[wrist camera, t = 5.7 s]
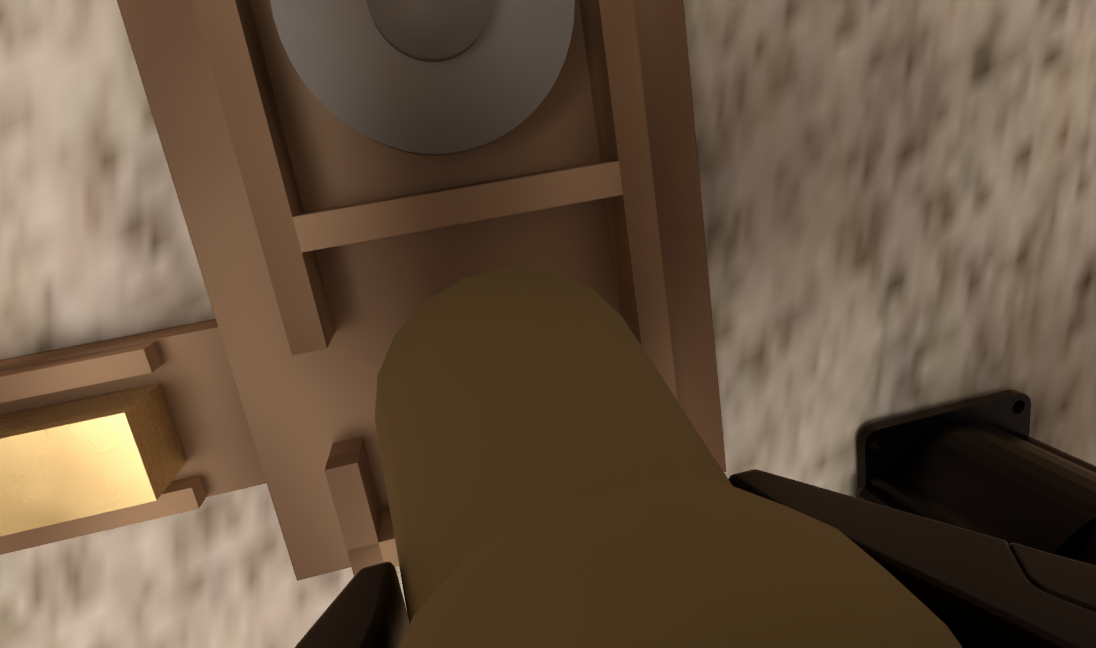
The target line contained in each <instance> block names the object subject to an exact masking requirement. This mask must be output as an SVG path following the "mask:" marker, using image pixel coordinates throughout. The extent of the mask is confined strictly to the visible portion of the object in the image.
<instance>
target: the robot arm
mask: <svg viewBox="0 0 1096 648" xmlns="http://www.w3.org/2000/svg"><path fill="white" fill-rule="evenodd" d="M1030 409H1031V402H1030V398H1029V397H1028V396H1027V395H1025V394H1023V393H1021V392H1018V391H1015V390H1007V391H1003V392H999V393H995V394H991V395H987V396H983V397H979V398H975V399H971V400H967V401H963V402H959V403H955V404H951V405H947V406H944V407H940V408H936V409H932V410H928V411H924V412H920V413H916V414H912V415H908V416H904V417H900V418H896V419H892V420H888V421H884V422H880V423H876V424H872V425H869V426H867V427H865V428H864V429H862V430H861V431H860V433H859V435H858V439H857V457H858V496H857V497H858V498H855V497H851V496H848V495H844V494H841V493H837V492H834V491H830V490H827V489H823V488H820V487H816V486H813V485H809V484H806V483H802V482H799V481H795V480H792V479H788V478H785V477H781V476H778V475H774V474H771V473H767V472H764V471H760V470H749V471H745V472H741V473H737V474H734V475H731V476H730V478H729V479H728V480H729V481H730V483H731V484H732V486H734V487H736V488H739V489H742V490H744V491H747V492H750V493H752V494H755V495H758V496H760V497H763V498H766V499H768V500H771V501H774V502H777V503H779V504H782V505H785V506H787V507H789V508H792V509H794V510H796V511H799V512H801V513H803V514H805V515H808V516H810V517H812V518H814V519H817V520H819V521H821V522H823V523H826V524H828V525H830V526H832V527H835V528H837V529H838V530H839V531H841V532H842V533H843V534H844V535H845V536H847V537H848V538H849V539H850V540H851V541H853V542H854V543H855V544H856V545H857V546H859V547H860V548H861V549H862V550H863V551H865V552H866V553H867V554H868V555H869V556H871V557H872V558H873V559H874V560H875V561H876V562H878V563H879V564H880V565H881V566H882V567H884V568H885V569H886V570H887V571H888V572H889V573H891V574H892V575H893V576H894V577H895V578H896V579H897V580H898V581H899V582H900V583H901V584H902V585H904V586H905V587H906V588H907V589H908V590H909V591H910V592H911V593H912V594H913V595H914V596H915V597H917V598H918V599H919V600H920V601H921V602H922V603H923V604H924V605H925V606H926V607H927V608H929V609H930V610H931V611H932V612H933V613H934V614H935V615H936V616H937V617H938V618H939V619H940V620H942V621H943V622H944V623H945V624H946V625H947V626H948V628H949V629H950V631H951V632H952V633H953V635H954V636H955V638H956V639H957V641H958V642H959V643H960V645H961V646H962V648H1096V466H1094V465H1092V464H1089V463H1087V462H1085V461H1083V460H1080V459H1078V458H1076V457H1074V456H1071V455H1069V454H1067V453H1065V452H1062V451H1060V450H1058V449H1056V448H1053V447H1051V446H1049V445H1047V444H1044V443H1042V442H1040V441H1038V440H1035V439H1033V438H1031V437H1029V429H1030ZM875 437H877V438H876V441H875V442H874V443H873V444H872V441H873V439H874V438H875ZM408 627H409V621H408V615H407V611H406V607H405V603H404V599H403V596H402V592H401V588H400V584H399V580H398V576H397V573H396V569H395V567H394V565H393V564H392V563H391V562H384V563H380V564H376V565H372V566H368V567H364V568H362V569H361V570H360V571H359V572H358V573H357V574H356V575H355V576H354V577H353V579H352V580H351V581H350V582H349V583H348V585H347V586H346V587H345V588H344V589H343V591H342V592H341V593H340V594H339V595H338V596H337V598H336V599H335V600H334V601H333V602H332V604H331V605H330V606H329V607H328V608H327V610H326V611H325V612H324V613H323V614H322V616H321V617H320V618H319V619H318V620H317V621H316V623H315V624H314V625H313V626H312V627H311V629H310V630H309V631H308V632H307V633H306V635H305V636H304V637H303V638H302V639H301V641H300V642H299V643H298V644H297V645H296V647H295V648H399V646H400V644H401V642H402V640H403V637H404V635H405V633H406V631H407V629H408Z"/></svg>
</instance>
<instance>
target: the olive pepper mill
mask: <svg viewBox="0 0 1096 648" xmlns="http://www.w3.org/2000/svg"><path fill="white" fill-rule="evenodd" d="M375 423H376V429H377V435H378V441H379V447H380V453H381V459H382V465H383V471H384V477H385V483H386V489H387V495H388V501H389V507H390V513H391V519H392V525H393V531H394V537H395V542H396V548H397V554H398V560H399V566H400V572H401V578H402V584H403V590H404V596H405V602H406V608H407V614H408V620H409V627H408V629H407V631H406V633H405V635H404V637H403V640H402V642H401V644H400V646H399V648H962V646H961V645H960V643H959V642H958V641H957V639H956V638H955V636H954V635H953V633H952V632H951V631H950V629H949V628H948V626H947V625H946V624H945V623H944V622H943V621H942V620H940V619H939V618H938V617H937V616H936V615H935V614H934V613H933V612H932V611H931V610H930V609H929V608H927V607H926V606H925V605H924V604H923V603H922V602H921V601H920V600H919V599H918V598H917V597H915V596H914V595H913V594H912V593H911V592H910V591H909V590H908V589H907V588H906V587H905V586H904V585H902V584H901V583H900V582H899V581H898V580H897V579H896V578H895V577H894V576H893V575H892V574H891V573H889V572H888V571H887V570H886V569H885V568H884V567H882V566H881V565H880V564H879V563H878V562H876V561H875V560H874V559H873V558H872V557H871V556H869V555H868V554H867V553H866V552H865V551H863V550H862V549H861V548H860V547H859V546H857V545H856V544H855V543H854V542H853V541H851V540H850V539H849V538H848V537H847V536H845V535H844V534H843V533H842V532H841V531H839V530H838V529H837V528H835V527H832V526H830V525H828V524H826V523H823V522H821V521H819V520H817V519H814V518H812V517H810V516H808V515H805V514H803V513H801V512H799V511H796V510H794V509H792V508H789V507H787V506H785V505H782V504H779V503H777V502H774V501H771V500H768V499H766V498H763V497H760V496H758V495H755V494H752V493H750V492H747V491H744V490H742V489H739V488H736V487H734V486H732V484H731V483H730V481H729V480H728V478H727V477H726V475H725V474H724V472H723V471H722V469H721V467H720V466H719V464H718V463H717V461H716V460H715V458H714V457H713V455H712V454H711V452H710V451H709V449H708V447H707V446H706V444H705V443H704V441H703V440H702V438H701V437H700V435H699V434H698V432H697V431H696V429H695V427H694V426H693V424H692V423H691V421H690V420H689V418H688V417H687V415H686V414H685V412H684V411H683V409H682V408H681V406H680V404H679V403H678V401H677V400H676V398H675V397H674V395H673V394H672V392H671V391H670V389H669V388H668V386H667V384H666V383H665V381H664V380H663V378H662V377H661V375H660V374H659V372H658V371H657V369H656V368H655V366H654V364H653V363H652V361H651V360H650V358H649V357H648V355H647V354H646V352H645V351H644V349H643V348H642V346H641V345H640V343H639V341H638V340H637V338H636V337H635V335H634V334H633V332H632V331H631V329H630V328H629V326H628V325H627V323H626V321H625V320H624V318H623V317H622V316H621V315H620V314H619V313H618V312H617V311H616V310H615V309H613V308H612V307H611V306H610V305H609V304H608V303H607V302H606V301H605V300H604V299H603V298H602V297H601V296H599V295H598V294H597V293H596V292H595V291H594V290H593V289H591V288H589V287H587V286H585V285H582V284H580V283H578V282H575V281H573V280H571V279H569V278H566V277H564V276H562V275H560V274H557V273H555V272H550V271H540V270H529V269H519V268H505V269H501V270H496V271H492V272H487V273H483V274H478V275H474V276H469V277H465V278H463V279H461V280H460V281H458V282H456V283H455V284H453V285H451V286H449V287H448V288H446V289H444V290H443V291H441V292H439V293H437V294H436V295H434V296H432V297H431V298H429V299H427V300H426V301H424V303H423V304H422V305H421V306H420V307H419V308H418V309H417V310H416V312H415V313H414V314H413V315H412V316H411V317H410V318H409V319H408V320H407V322H406V323H405V324H404V325H403V326H402V327H401V328H400V329H399V331H398V332H397V333H396V334H395V335H394V338H393V340H392V343H391V345H390V347H389V350H388V352H387V354H386V357H385V359H384V361H383V364H382V366H381V368H380V371H379V373H378V375H377V390H376V405H375Z"/></svg>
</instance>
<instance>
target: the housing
mask: <svg viewBox="0 0 1096 648" xmlns="http://www.w3.org/2000/svg"><path fill="white" fill-rule="evenodd" d="M117 2H118V5H119V9H120V12H121V15H122V18H123V22H124V25H125V28H126V31H127V34H128V38H129V41H130V44H131V47H132V50H133V54H134V57H135V60H136V63H137V67H138V70H139V73H140V76H141V79H142V83H143V86H144V89H145V92H146V96H147V99H148V102H149V105H150V108H151V112H152V115H153V118H154V121H155V125H156V128H157V131H158V134H159V137H160V141H161V144H162V147H163V150H164V154H165V157H166V160H167V163H168V166H169V170H170V173H171V176H172V179H173V182H174V186H175V189H176V192H177V195H178V199H179V202H180V205H181V208H182V211H183V215H184V218H185V221H186V224H187V228H188V231H189V234H190V237H191V240H192V244H193V247H194V250H195V253H196V257H197V260H198V263H199V266H200V269H201V273H202V276H203V279H204V282H205V286H206V289H207V292H208V295H209V298H210V302H211V305H212V308H213V311H214V315H215V318H216V319H215V320H209V321H204V322H199V323H194V324H189V325H183V326H178V327H173V328H168V329H162V330H157V331H152V332H147V333H141V334H136V335H131V336H126V337H121V338H115V339H110V340H105V341H100V342H94V343H89V344H84V345H79V346H73V347H68V348H63V349H58V350H53V351H47V352H42V353H37V354H32V355H26V356H21V357H16V358H11V359H5V360H0V415H5V414H10V413H15V412H20V411H25V410H30V409H35V408H40V407H45V406H50V405H55V404H60V403H64V402H69V401H74V400H79V399H84V398H89V397H94V396H99V395H104V394H109V393H114V392H119V391H124V390H129V389H133V388H138V387H143V386H148V385H153V384H158V383H160V386H161V389H162V392H163V395H164V398H165V400H166V403H167V406H168V409H169V412H170V415H171V418H172V421H173V424H174V427H175V429H176V432H177V435H178V438H179V441H180V444H181V447H182V450H183V453H184V456H185V458H186V461H187V462H186V464H185V465H184V466H183V467H182V469H181V470H180V471H179V473H178V474H177V475H176V476H175V478H174V479H173V480H172V482H171V483H170V484H169V485H168V487H167V488H166V489H165V491H164V492H163V493H162V494H161V496H160V497H159V498H158V500H157V501H153V502H149V503H144V504H140V505H136V506H131V507H127V508H123V509H118V510H114V511H109V512H105V513H101V514H96V515H92V516H88V517H83V518H79V519H74V520H70V521H66V522H61V523H57V524H53V525H48V526H44V527H39V528H35V529H31V530H26V531H22V532H18V533H13V534H9V535H4V536H0V555H1V554H5V553H9V552H14V551H18V550H22V549H27V548H31V547H35V546H40V545H44V544H48V543H52V542H57V541H61V540H65V539H70V538H74V537H78V536H83V535H87V534H91V533H96V532H100V531H104V530H108V529H113V528H117V527H121V526H126V525H130V524H134V523H139V522H143V521H147V520H151V519H156V518H160V517H164V516H169V515H173V514H177V513H182V512H186V511H190V510H194V509H199V508H200V506H201V504H202V503H203V501H204V500H205V498H206V497H208V496H213V495H217V494H221V493H226V492H230V491H234V490H239V489H243V488H248V487H252V486H256V485H261V484H265V483H267V485H268V488H269V492H270V495H271V498H272V501H273V504H274V508H275V511H276V514H277V517H278V521H279V524H280V527H281V530H282V533H283V537H284V540H285V543H286V546H287V550H288V553H289V556H290V559H291V562H292V566H293V569H294V572H295V575H296V579H297V581H298V580H301V579H305V578H309V577H313V576H317V575H321V574H325V573H329V572H333V571H337V570H341V569H345V568H349V567H352V570H353V574H354V576H355V575H356V574H357V573H358V572H359V571H360V570H361V569H362V568H364V567H368V566H372V565H376V564H380V563H384V562H391V563H392V564H393V565H394V567H395V566H399V560H398V554H397V548H396V542H395V537H394V531H393V525H392V519H391V513H390V507H389V501H388V495H387V489H386V483H385V477H384V471H383V465H382V459H381V453H380V447H379V441H378V435H377V429H376V423H375V405H376V390H377V375H378V373H379V371H380V368H381V366H382V364H383V361H384V359H385V357H386V354H387V352H388V350H389V347H390V345H391V343H392V340H393V338H394V335H395V334H396V333H397V332H398V331H399V329H400V328H401V327H402V326H403V325H404V324H405V323H406V322H407V320H408V319H409V318H410V317H411V316H412V315H413V314H414V313H415V312H416V310H417V309H418V308H419V307H420V306H421V305H422V304H423V303H424V301H426V300H427V299H429V298H431V297H432V296H434V295H436V294H437V293H439V292H441V291H443V290H444V289H446V288H448V287H449V286H451V285H453V284H455V283H456V282H458V281H460V280H461V279H463V278H465V277H469V276H474V275H478V274H483V273H487V272H492V271H496V270H501V269H505V268H519V269H529V270H540V271H550V272H555V273H557V274H560V275H562V276H564V277H566V278H569V279H571V280H573V281H575V282H578V283H580V284H582V285H585V286H587V287H589V288H591V289H593V290H594V291H595V292H596V293H597V294H598V295H599V296H601V297H602V298H603V299H604V300H605V301H606V302H607V303H608V304H609V305H610V306H611V307H612V308H613V309H615V310H616V311H617V312H618V313H619V314H620V315H621V316H622V317H623V318H624V320H625V321H626V323H627V325H628V326H629V328H630V329H631V331H632V332H633V334H634V335H635V337H636V338H637V340H638V341H639V343H640V345H641V346H642V348H643V349H644V351H645V352H646V354H647V355H648V357H649V358H650V360H651V361H652V363H653V364H654V366H655V368H656V369H657V371H658V372H659V374H660V375H661V377H662V378H663V380H664V381H665V383H666V384H667V386H668V388H669V389H670V391H671V392H672V394H673V395H674V397H675V398H676V400H677V401H678V403H679V404H680V406H681V408H682V409H683V411H684V412H685V414H686V415H687V417H688V418H689V420H690V421H691V423H692V424H693V426H694V427H695V429H696V431H697V432H698V434H699V435H700V437H701V438H702V440H703V441H704V443H705V444H706V446H707V447H708V449H709V451H710V452H711V454H712V455H713V457H714V458H715V460H716V461H717V463H718V464H719V466H720V467H721V469H722V471H723V472H726V464H725V453H724V442H723V431H722V420H721V409H720V398H719V387H718V376H717V366H716V355H715V344H714V333H713V322H712V311H711V300H710V289H709V278H708V267H707V256H706V245H705V234H704V223H703V212H702V202H701V191H700V180H699V169H698V158H697V147H696V136H695V125H694V114H693V103H692V92H691V81H690V70H689V59H688V48H687V38H686V27H685V16H684V5H683V0H117Z"/></svg>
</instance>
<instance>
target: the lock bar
mask: <svg viewBox="0 0 1096 648" xmlns="http://www.w3.org/2000/svg"><path fill="white" fill-rule="evenodd" d="M186 462H187V461H186V458H185V456H184V453H183V450H182V447H181V444H180V441H179V438H178V435H177V432H176V429H175V427H174V424H173V421H172V418H171V415H170V412H169V409H168V406H167V403H166V400H165V398H164V395H163V392H162V389H161V386H160V383H158V384H153V385H148V386H143V387H138V388H133V389H129V390H124V391H119V392H114V393H109V394H104V395H99V396H94V397H89V398H84V399H79V400H74V401H69V402H64V403H60V404H55V405H50V406H45V407H40V408H35V409H30V410H25V411H20V412H15V413H10V414H5V415H0V536H4V535H9V534H13V533H18V532H22V531H26V530H31V529H35V528H39V527H44V526H48V525H53V524H57V523H61V522H66V521H70V520H74V519H79V518H83V517H88V516H92V515H96V514H101V513H105V512H109V511H114V510H118V509H123V508H127V507H131V506H136V505H140V504H144V503H149V502H153V501H157V500H158V498H159V497H160V496H161V494H162V493H163V492H164V491H165V489H166V488H167V487H168V485H169V484H170V483H171V482H172V480H173V479H174V478H175V476H176V475H177V474H178V473H179V471H180V470H181V469H182V467H183V466H184V465H185V464H186Z"/></svg>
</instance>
